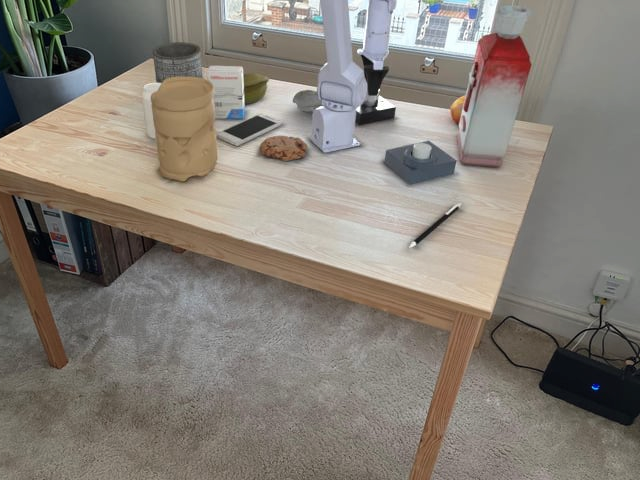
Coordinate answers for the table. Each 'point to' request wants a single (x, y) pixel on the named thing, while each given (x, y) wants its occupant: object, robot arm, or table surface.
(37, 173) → the table surface
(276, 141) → the cookie
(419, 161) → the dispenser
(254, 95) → the olive green bowl
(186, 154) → the container
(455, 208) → the pen
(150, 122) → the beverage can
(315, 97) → the seashell
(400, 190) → the table surface
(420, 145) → the white short cylinder
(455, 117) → the fruit
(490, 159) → the bottle
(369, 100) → the rotary dial knob
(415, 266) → the table surface
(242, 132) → the smartphone
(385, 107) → the tap plate
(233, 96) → the ink box
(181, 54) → the planter
